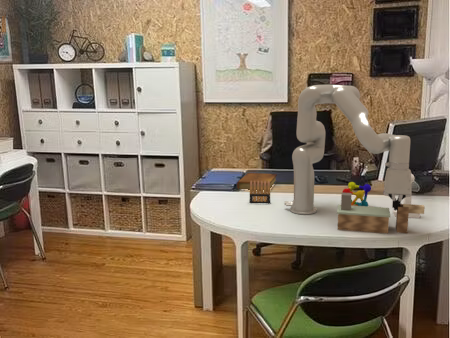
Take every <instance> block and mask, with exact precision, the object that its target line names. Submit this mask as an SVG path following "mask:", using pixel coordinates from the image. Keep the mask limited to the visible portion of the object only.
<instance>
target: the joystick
mask: <svg viewBox="0 0 450 338" xmlns="http://www.w3.org/2000/svg"><path fill="white" fill-rule="evenodd" d="M415 178H416V177H415V176H414V174H412V173H411V186H412V183H414V181H415ZM402 204H412V195H411V196H410V197H405V198H404V199H403V203H402ZM392 214H393V217H395V218H396V217H397V210H396V211H395V210H394V209H393V210H392ZM408 215H409V216H408V219H411V218H412V219H417V218H421V214H416V213H409V214H408Z"/></svg>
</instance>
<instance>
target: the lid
mask: <svg viewBox="0 0 450 338" xmlns="http://www.w3.org/2000/svg"><path fill="white" fill-rule="evenodd" d="M351 199H352V193H342V192H341V200H340V204H338V205H337V210H336V214H337V215H338V214H346V215H361V216H376V217H389V218H391V212H390V208H389V207H381V206H368V207H367V206H351Z"/></svg>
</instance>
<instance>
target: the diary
mask: <svg viewBox="0 0 450 338" xmlns="http://www.w3.org/2000/svg"><path fill="white" fill-rule="evenodd" d="M277 176H278V174H277V173H261V172H260V173H258V172H247V173H246V174H245V175H244V176H243V177H241V178H240V179H239V180H238V181H237V183H236V189H237V188H238V189H239V188H240V189H248V190H250V182H251V181H252V187H253V186H254V181H255V182H256V190H257V182H258V181H259V186H261V181H262V182H263V190H264V182H265V181H266V188H267V184H268V181H269V182H270V188H271V187H272V185H273V184H274V182H275V181H276V182H277V180H276V179H277Z"/></svg>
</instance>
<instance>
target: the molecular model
mask: <svg viewBox="0 0 450 338" xmlns="http://www.w3.org/2000/svg"><path fill="white" fill-rule="evenodd" d="M355 189H362V190H357V191H355V192H354V191H353V190H355ZM371 190H372V185H370V184H368V183H366V184H363V186H362V185H358V184H356V182H354V181H350V182H348V185H347V188H343V190H342V192H341V194H342V193H352V195H353V196H355V198H354V199H353V198H351V206H367V207H369V203H368V201H367V199H368V193H370V191H371ZM352 199H353V200H352ZM358 199H359V200H360V202H359V201H358Z"/></svg>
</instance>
